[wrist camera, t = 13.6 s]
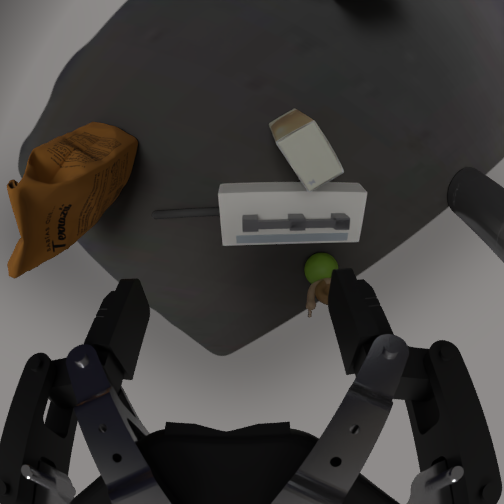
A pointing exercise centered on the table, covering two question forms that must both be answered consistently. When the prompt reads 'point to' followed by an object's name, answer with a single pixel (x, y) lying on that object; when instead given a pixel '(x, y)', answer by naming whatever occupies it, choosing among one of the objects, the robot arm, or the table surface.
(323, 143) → the skincare box
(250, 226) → the breaker paddles
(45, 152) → the coffee package
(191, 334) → the table surface
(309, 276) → the snail figurine
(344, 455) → the robot arm
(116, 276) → the table surface
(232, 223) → the strip
